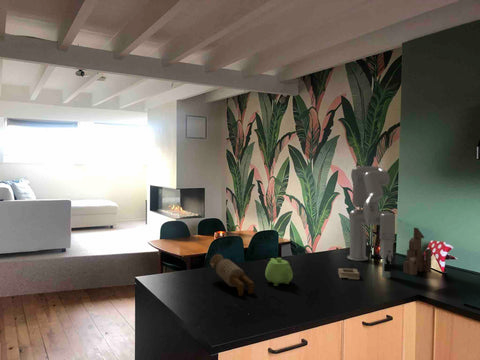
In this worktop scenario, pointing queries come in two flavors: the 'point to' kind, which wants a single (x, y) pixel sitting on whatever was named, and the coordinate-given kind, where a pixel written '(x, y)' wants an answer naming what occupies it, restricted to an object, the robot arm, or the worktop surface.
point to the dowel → (384, 273)
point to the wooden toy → (417, 256)
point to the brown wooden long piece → (231, 274)
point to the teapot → (278, 271)
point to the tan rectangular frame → (348, 273)
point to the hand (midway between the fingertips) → (386, 269)
